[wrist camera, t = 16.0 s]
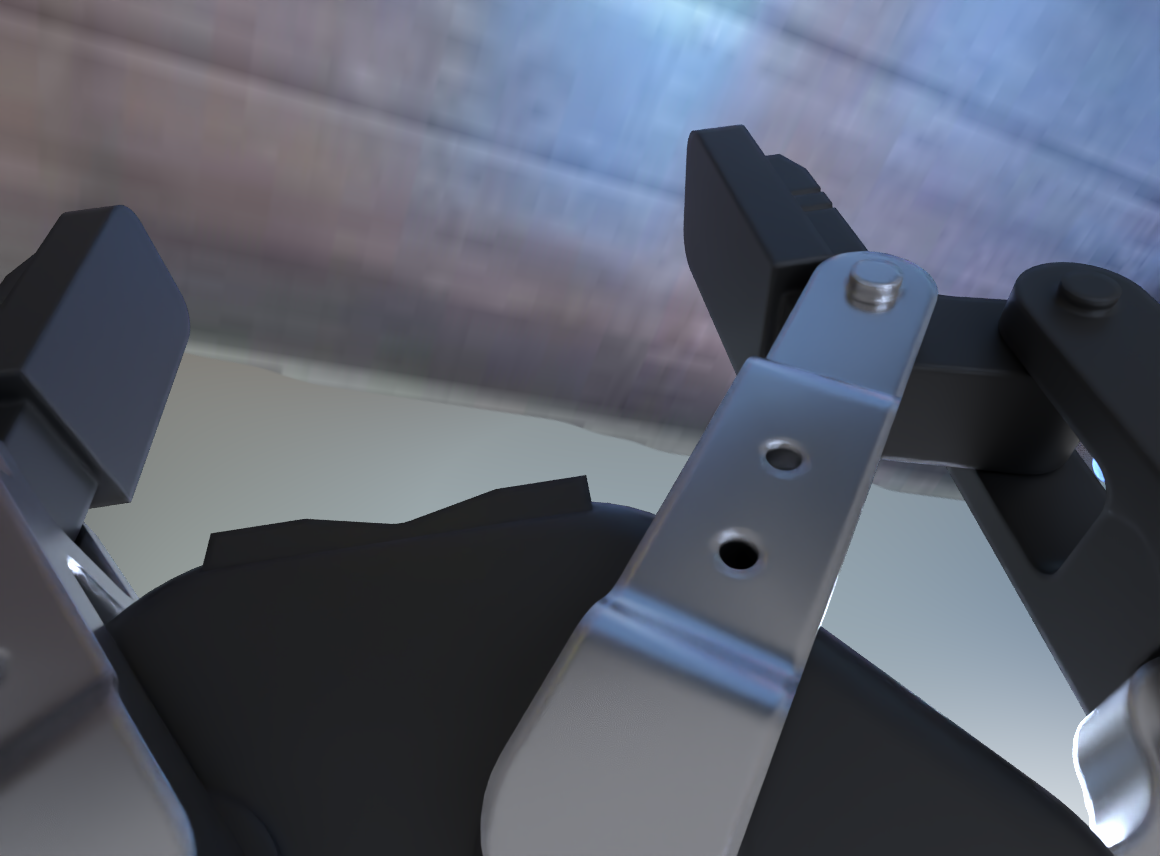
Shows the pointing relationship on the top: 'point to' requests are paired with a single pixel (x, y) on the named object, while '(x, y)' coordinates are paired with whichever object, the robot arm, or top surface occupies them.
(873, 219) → the top surface
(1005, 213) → the top surface
